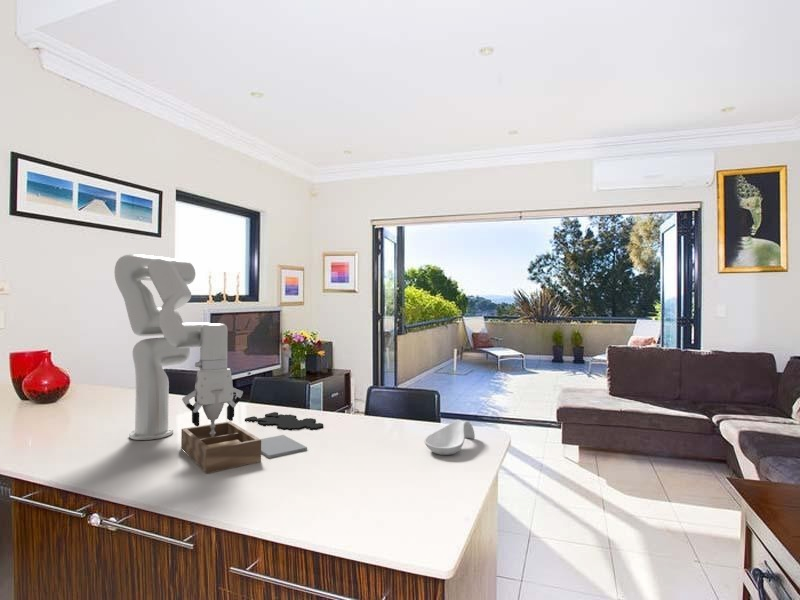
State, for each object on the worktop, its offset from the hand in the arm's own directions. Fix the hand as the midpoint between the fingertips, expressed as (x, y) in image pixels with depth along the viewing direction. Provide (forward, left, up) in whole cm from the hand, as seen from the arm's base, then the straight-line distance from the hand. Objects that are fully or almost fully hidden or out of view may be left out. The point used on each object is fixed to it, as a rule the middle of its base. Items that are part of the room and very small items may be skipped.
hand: (213, 422), depth 136 cm
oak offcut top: (+11, 0, -6) cm, 13 cm away
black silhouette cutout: (-15, +31, -9) cm, 35 cm away
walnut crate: (+6, 0, -8) cm, 10 cm away
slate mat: (+9, +16, -8) cm, 20 cm away
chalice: (0, 0, -8) cm, 8 cm away
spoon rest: (+41, +59, -9) cm, 73 cm away
